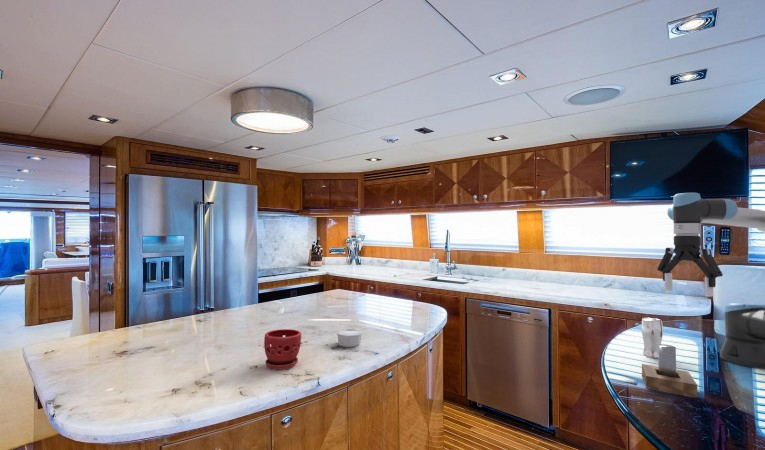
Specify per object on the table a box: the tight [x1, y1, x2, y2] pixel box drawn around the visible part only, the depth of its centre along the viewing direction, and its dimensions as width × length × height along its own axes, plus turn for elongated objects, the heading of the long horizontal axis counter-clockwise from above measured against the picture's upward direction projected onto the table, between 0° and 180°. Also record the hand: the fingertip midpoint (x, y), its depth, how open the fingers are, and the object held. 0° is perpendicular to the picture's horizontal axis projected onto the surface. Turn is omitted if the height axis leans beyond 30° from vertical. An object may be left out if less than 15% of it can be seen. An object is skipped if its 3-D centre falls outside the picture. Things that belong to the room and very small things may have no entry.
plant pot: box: [263, 328, 302, 371], centre depth 128 cm, size 13×13×12 cm
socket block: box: [641, 363, 698, 399], centre depth 114 cm, size 12×12×4 cm
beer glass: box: [641, 317, 664, 359], centre depth 143 cm, size 7×7×15 cm
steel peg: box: [658, 343, 677, 378], centre depth 114 cm, size 4×4×13 cm
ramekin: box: [336, 328, 363, 348], centre depth 154 cm, size 11×11×5 cm
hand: (687, 293), depth 126 cm, fingers open, 13 cm apart
